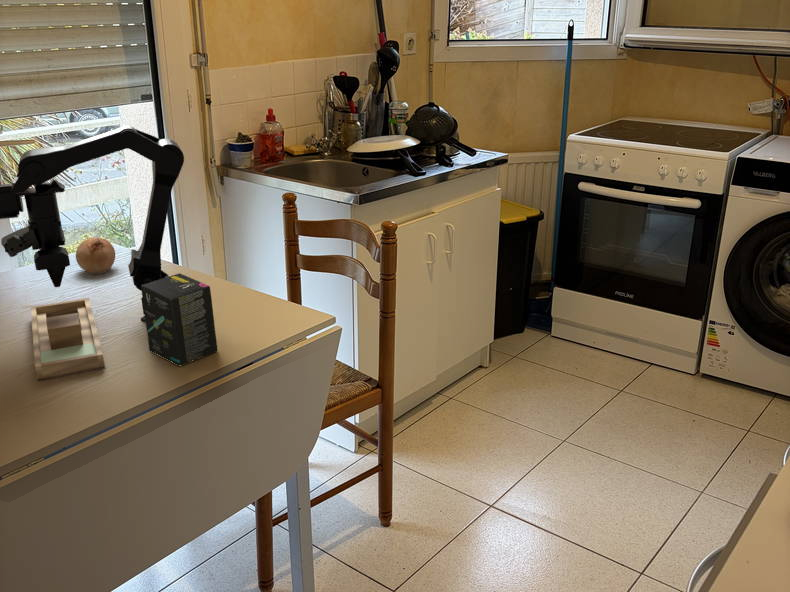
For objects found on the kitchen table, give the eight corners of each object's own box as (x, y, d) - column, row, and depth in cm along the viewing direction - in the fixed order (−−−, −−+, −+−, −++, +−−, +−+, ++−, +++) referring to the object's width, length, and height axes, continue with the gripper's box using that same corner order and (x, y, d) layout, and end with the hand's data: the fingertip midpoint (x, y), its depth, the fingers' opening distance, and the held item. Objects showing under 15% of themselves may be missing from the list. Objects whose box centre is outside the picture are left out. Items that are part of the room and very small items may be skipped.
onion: (107, 286, 197) (108, 258, 190) (70, 276, 196) (68, 248, 189) (120, 261, 204) (121, 233, 197) (84, 252, 202) (83, 223, 195)
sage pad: (98, 364, 151) (97, 359, 151) (43, 375, 147) (41, 369, 147) (94, 347, 158) (93, 342, 157) (41, 357, 154) (40, 352, 154)
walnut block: (83, 344, 157) (79, 324, 155) (51, 350, 154) (47, 329, 152) (81, 332, 162) (77, 312, 160) (49, 337, 159) (46, 317, 158)
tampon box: (218, 352, 157) (212, 285, 151) (179, 368, 151) (171, 299, 145) (187, 335, 164) (179, 271, 158) (148, 350, 158) (139, 284, 152)
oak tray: (105, 368, 151) (102, 354, 150) (37, 380, 146) (35, 366, 145) (90, 310, 176) (88, 297, 175) (33, 319, 171) (30, 306, 170)
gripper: (-1, 207, 160) (14, 277, 166) (-2, 233, 145) (15, 310, 151) (57, 200, 164) (70, 269, 171) (63, 225, 149) (76, 300, 155)
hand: (57, 286), depth 162 cm, fingers closed
